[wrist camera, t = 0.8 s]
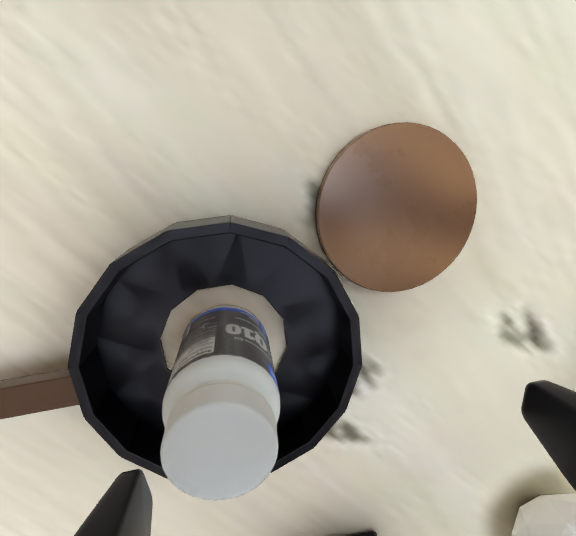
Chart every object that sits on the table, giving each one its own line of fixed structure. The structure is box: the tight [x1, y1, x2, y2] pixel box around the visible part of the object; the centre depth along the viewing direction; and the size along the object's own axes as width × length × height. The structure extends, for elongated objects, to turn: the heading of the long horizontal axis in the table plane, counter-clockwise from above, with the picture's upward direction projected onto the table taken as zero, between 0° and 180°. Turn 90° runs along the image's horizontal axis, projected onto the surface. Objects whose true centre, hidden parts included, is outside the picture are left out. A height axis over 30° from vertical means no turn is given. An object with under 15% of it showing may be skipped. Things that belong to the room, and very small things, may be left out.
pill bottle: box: [160, 305, 280, 500], centre depth 16 cm, size 5×5×8 cm
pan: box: [0, 216, 362, 478], centre depth 18 cm, size 14×22×3 cm, turn 96°
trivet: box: [316, 123, 477, 292], centre depth 19 cm, size 9×9×1 cm
